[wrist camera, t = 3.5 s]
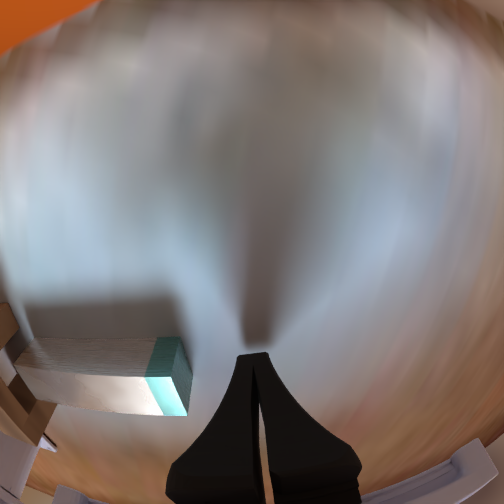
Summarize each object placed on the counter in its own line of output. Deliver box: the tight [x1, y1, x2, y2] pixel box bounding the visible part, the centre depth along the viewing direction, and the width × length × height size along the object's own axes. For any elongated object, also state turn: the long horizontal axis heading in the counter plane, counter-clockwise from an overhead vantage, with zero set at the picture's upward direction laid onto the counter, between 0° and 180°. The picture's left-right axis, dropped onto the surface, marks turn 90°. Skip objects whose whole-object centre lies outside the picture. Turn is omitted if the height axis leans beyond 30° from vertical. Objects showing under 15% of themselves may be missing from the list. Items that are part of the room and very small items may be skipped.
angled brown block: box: [0, 303, 57, 447], centre depth 11 cm, size 4×8×5 cm, turn 6°
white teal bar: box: [13, 337, 193, 416], centre depth 12 cm, size 10×3×3 cm, turn 96°
